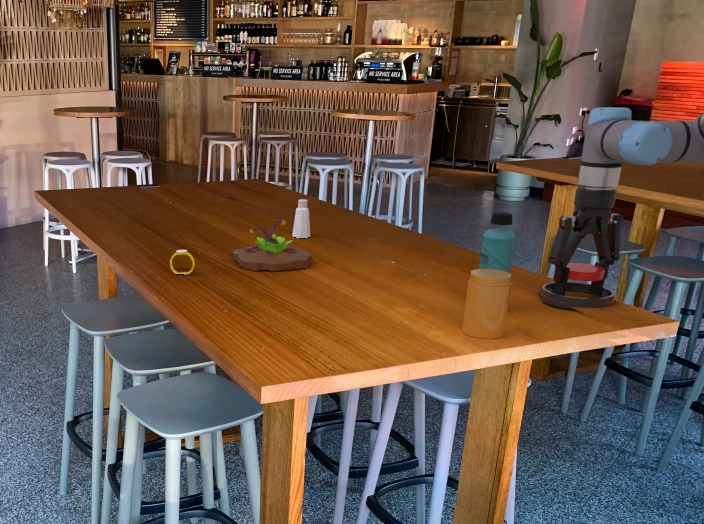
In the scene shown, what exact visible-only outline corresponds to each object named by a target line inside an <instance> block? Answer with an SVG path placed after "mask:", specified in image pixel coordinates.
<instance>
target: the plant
mask: <svg viewBox="0 0 704 524" xmlns="http://www.w3.org/2000/svg"><path fill="white" fill-rule="evenodd" d="M286 221H287V220H285V219H283V218H277V219H276V220H274V223H273V224H272V226H271V231H270V232H269V231H268V230H267V229H266V228H265V227H262V226H260V225H257V226H255V227H252V228H251V229H250V230H249V234H251V235H254V234H255V232H256V229H259V230H260V231H262V233H263V234H264V238H265V239H264V238H262V237H258V236H257V237H256V239H257V241H255V244H256V245H254V244H252V245H249V246H246V247H241V248H236V249H234V250H232V260H233V261H234V262H236V263H238V264H239V268H241V267H243V268H242V269H245V270H248V269H250V270H249V271H253V270H254V271H253V272H260V271H259V270H269V271H268V272H282V271H281V270H285V271H293V270H292V269H295V270H304V269H303V268H306V269H307V268H308V267H309V266H310V265H311V262H312V255H311V253H310V252H309V251H307V250H303V249H301V248H299V247H297V246H296V247H295V246H290V244H292V242H294V240H293V239H292V240H291V239H290V240H288V241H286V238H285V237H284V236H283V237H282V236H280V235H279V236H278V234H277V232H276V228H277V227H276V226H277V225H278V223H279V224H280V225H281V226H282V227H284V226H286V225H287V222H286ZM257 245H258V246H257Z"/></svg>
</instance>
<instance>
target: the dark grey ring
mask: <svg viewBox="0 0 704 524" xmlns="http://www.w3.org/2000/svg"><path fill="white" fill-rule="evenodd" d="M554 286H555V281H553V282H548V283H544V284H543V285H542V286H541V291H540V297H539V298H540V300H541V301H542V302H544V303H546V304H547V305H549V306H552V307H555V308H558V309H563V310H567V311H572V312H573V311H575V312H579V310H578V309H576V308H573V307H577V308H591V309H592V308H606V307H609V306H611V305H613V303H614V301H615V296H616V293H615V292H614V291H613V290H612V289H609V288H607V287H605V286H603V290H602V295H596V294H594V293H591V292H590V288H591V283H586V282H579V281H567V287H566V292H569V293H570V292H572V293H581V294H582V293H583V294H588V295H591V296H596V298H595V297H594V298H593V297H591V298H590V297H578V296H577V297H576V296H568V295H565V296H564V295H559V294H556V293H553V292H554Z"/></svg>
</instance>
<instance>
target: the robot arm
mask: <svg viewBox="0 0 704 524" xmlns="http://www.w3.org/2000/svg"><path fill="white" fill-rule="evenodd" d="M582 147H583V148H582V153H581V159H580V164H579V165H580V166H579V170H578V171H579V172H578V177H577V183H576V184H577V185H578V187H577V188H576V189H575V194H574V198H573V199H574V200H573V205H574V211H573V213H572V215H568V216H566V215H560V216H559V219H558V229H557V232H556V234H555V237H554V240H553V242H552V246H551V250H550V251H549V255H548V257H547V263H548V264H550V265H553V266H555V267H554V273H553V278H552V279H553V282H555V286H554V292H553V293H556V294H559V295H564V296H566V292H567V291H566V287H567V282H569V279H568V275H569V270H570V268H568V267H566V266H567V265H568V263H570V261H571V260H572V258H573V256H574V254H575V252H576V251H577V249H578V247H579V245H580V244H581V242H582V240H583V239H585V238H586V237H587V235H592V236H593V241H594V244H595V245H594V246H595V250H596V254H597V259H598V262H594V265H597V266H600V267H603V268H604V269H605V273H604V277H603V279H602V280H599V281H590V284H591V288H590V292H591V293H594V294H596V295H602V290H603V287H604V285H605V279H607V278H608V275H609V270H610V266H614V265H615V263H616V262H618V261H619V260H620V257H621V225H622V222H623V219H624V215H623V214H619V213H615V212H612V210H611V209H613V208H614V207H615V205H616V204H615V203H616V198H617V193H618V191H617V189H616V188H617V187H618V186H619V183H620V179H621V178H620V177H621V171H622V166H623V162H624V163H629V164H631V165H633V166H634V165H635V166H639V165H640V166H651V165H655V164H659V163H661V164H663V163H664V164H665V163H702V164H704V112H703V113H701V114H700V115H699V116H697V118H695V119H693V120H692V119H691V120H633V119H632V110H631V109H630V108H628V107H617V106H615V107H613V106H611V107H609V106H607V107H606V106H605V107H604V106H603V107H599V106H598V107H595V108H592V110H591V111H590V112H589V116H588V120H587V125H586V127H585V133H584V140H583V146H582Z"/></svg>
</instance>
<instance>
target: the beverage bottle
mask: <svg viewBox="0 0 704 524" xmlns="http://www.w3.org/2000/svg"><path fill="white" fill-rule="evenodd" d="M513 215H514V214H513V213H509V212H504V211H503V212H501V211H500V212H493V213H492V215H491V219H490V224H491V225H497V226H511V225H513V217H514V216H513ZM515 240H516V234H515V233H514V232H513V231H512V230H511V229H509V228H503V227H493V228H492V227H491V228H489V229H487V230H486V231H485V232H484V233H483V234H482V244H481V248H480V255H479V261H478V262H479V263H478V269H495V270H501V271H505V272H508V273H510V274H511V267H512V262H513V261H512V260H513V253H514V247H515V243H516V241H515Z"/></svg>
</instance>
